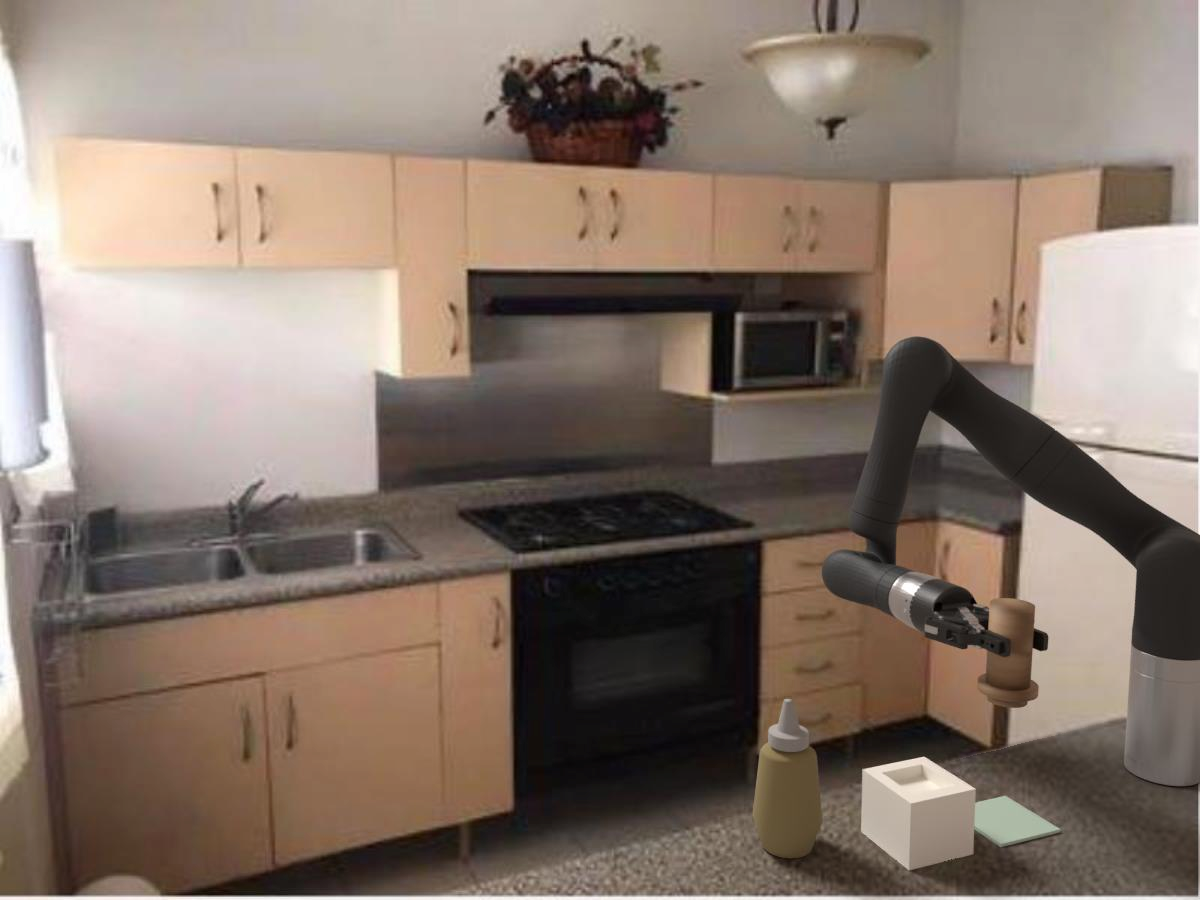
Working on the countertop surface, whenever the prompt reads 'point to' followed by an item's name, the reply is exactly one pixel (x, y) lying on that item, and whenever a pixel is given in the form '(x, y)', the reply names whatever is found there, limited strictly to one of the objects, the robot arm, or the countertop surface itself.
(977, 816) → the mat
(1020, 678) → the flanged wooden peg
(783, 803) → the squeeze bottle
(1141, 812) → the countertop surface
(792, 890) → the countertop surface
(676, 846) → the countertop surface
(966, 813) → the white socket block
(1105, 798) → the countertop surface
